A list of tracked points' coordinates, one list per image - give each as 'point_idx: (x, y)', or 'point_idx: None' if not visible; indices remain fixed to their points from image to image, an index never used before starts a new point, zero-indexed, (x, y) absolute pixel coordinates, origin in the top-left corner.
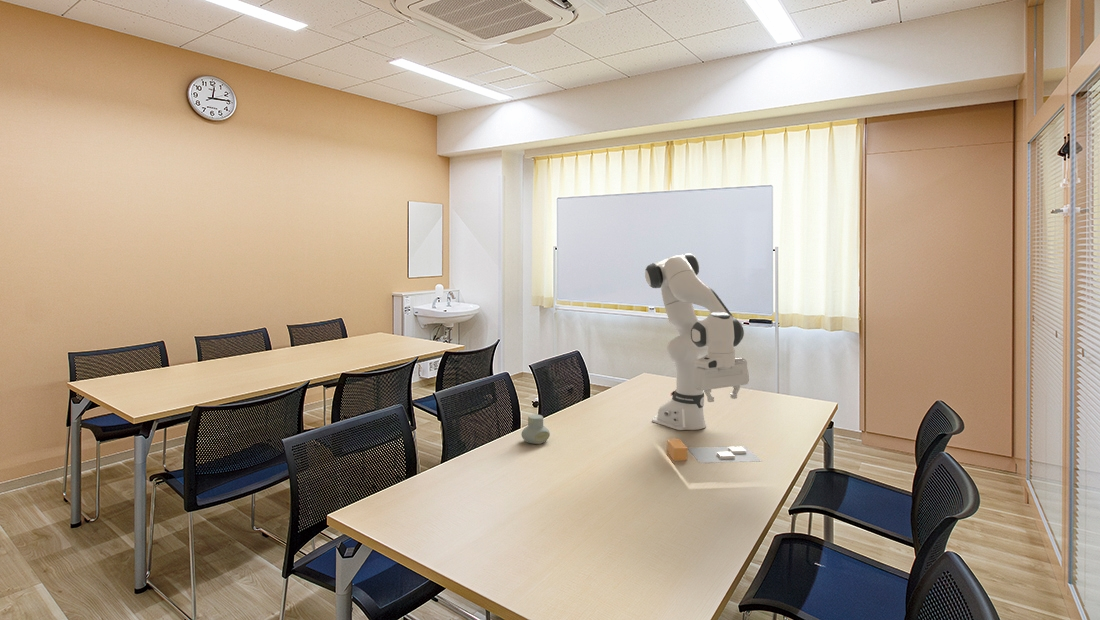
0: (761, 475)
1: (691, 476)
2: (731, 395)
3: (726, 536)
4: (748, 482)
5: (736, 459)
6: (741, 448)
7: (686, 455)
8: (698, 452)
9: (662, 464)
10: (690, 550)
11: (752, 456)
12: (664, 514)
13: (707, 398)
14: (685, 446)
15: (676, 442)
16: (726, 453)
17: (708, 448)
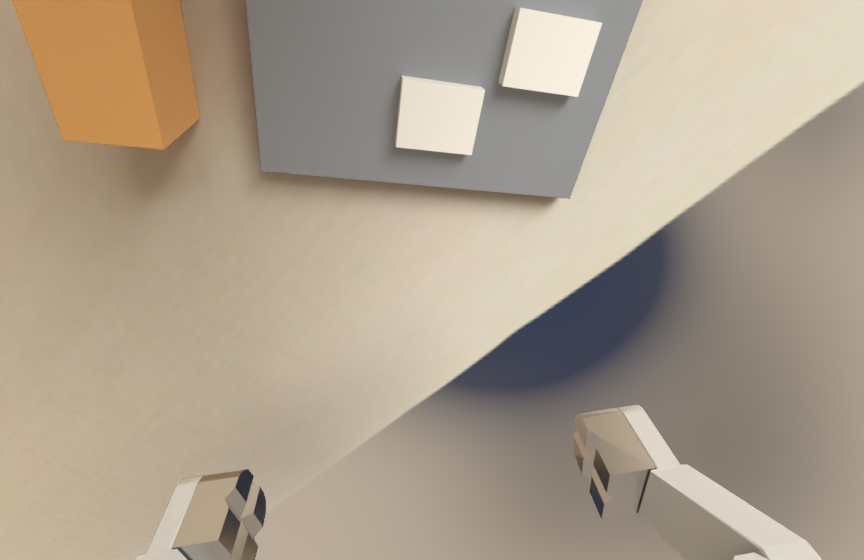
0: (491, 271)
1: (199, 250)
2: (594, 458)
3: None
4: (409, 312)
5: (470, 161)
6: (579, 53)
7: (178, 132)
8: (299, 12)
9: (40, 93)
10: (133, 528)
11: (570, 139)
12: (70, 445)
13: (164, 518)
14: (153, 120)
15: (80, 16)
16: (446, 114)
17: None
